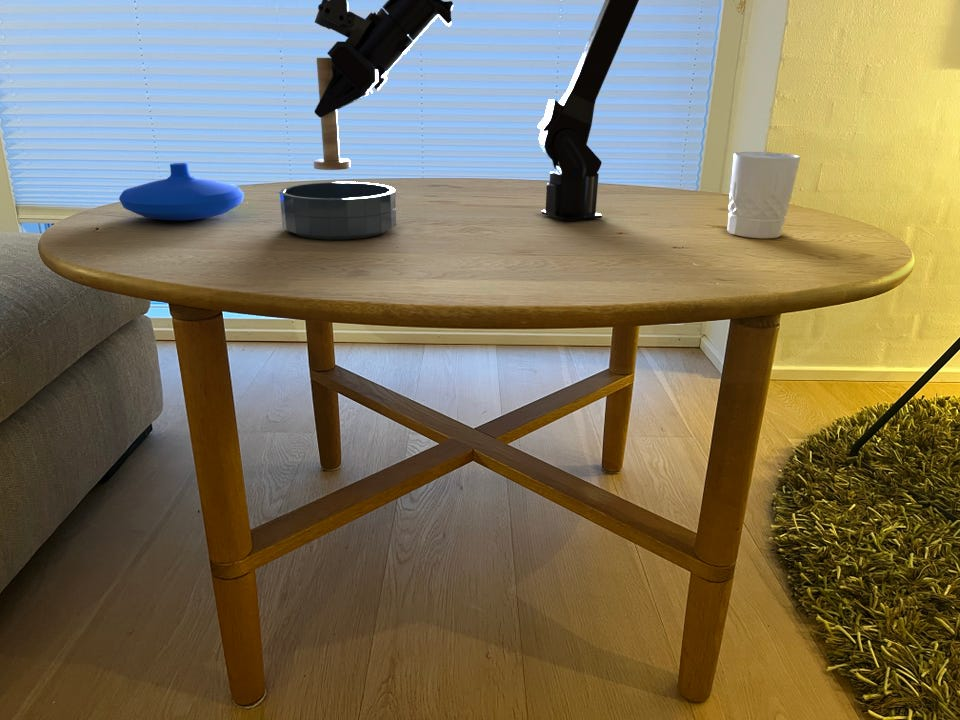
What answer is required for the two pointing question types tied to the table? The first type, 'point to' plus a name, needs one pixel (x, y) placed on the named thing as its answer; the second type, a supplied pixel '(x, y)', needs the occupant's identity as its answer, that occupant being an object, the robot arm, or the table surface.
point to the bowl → (338, 210)
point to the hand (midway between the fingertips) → (318, 114)
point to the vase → (181, 197)
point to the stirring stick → (329, 125)
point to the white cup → (760, 193)
